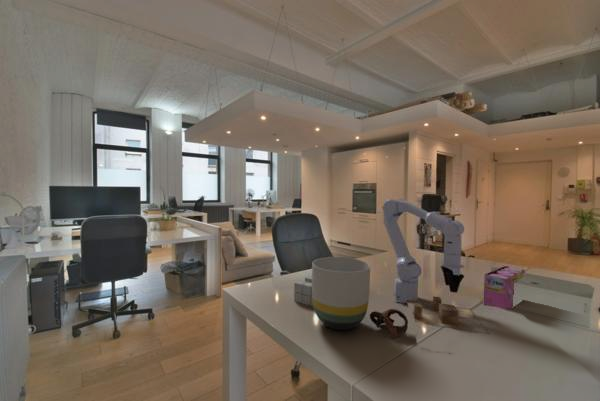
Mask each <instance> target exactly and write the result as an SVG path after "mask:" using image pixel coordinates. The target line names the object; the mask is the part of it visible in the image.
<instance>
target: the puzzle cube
mask: <svg viewBox="0 0 600 401" xmlns="http://www.w3.org/2000/svg"><path fill="white" fill-rule="evenodd" d="M293 284H294V285H293V286H294V288H293V301H294V302H295V303H296V302H297V303H300V304H303V305H307V306H310V307H313V308H314V306H313V299H312V275H308V276H306V277H305V278H304V280H297V281H294V283H293Z"/></svg>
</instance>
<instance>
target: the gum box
mask: <svg viewBox="0 0 600 401" xmlns="http://www.w3.org/2000/svg"><path fill="white" fill-rule="evenodd" d="M501 269H504V270H505V271H501ZM518 272H520V273H518ZM517 273H518V274H517ZM523 273H525V274H526V269H521V270H519V269H517V268H512V267H510V266H501V267H499V268H497V269H495V270H492V271H490V272H486V273H485V274H484V283H483V284H484V285H483V306H487V307H495V308H499V309H501V310H502V309H503V310H507V309H513V308H512V307H513V295H514V283H516V282H518V281H519V280H520V279H521V278H522V277H523Z"/></svg>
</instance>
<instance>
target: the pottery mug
mask: <svg viewBox="0 0 600 401" xmlns="http://www.w3.org/2000/svg"><path fill="white" fill-rule="evenodd" d="M395 314H397V315H398V316H399V317H400V318H402V319H403V321H404V325H397V326H396V327H394V323H395V319H394V318H391V315H395ZM369 318H370V321H371V322H372V323H373V324H374V325H375V326H376V328H378V329H379V328H380V327H381V325H383V324H385V325H386V327H388V329H389V330H390V333H389V334H388V336H389V338H391V339H395V338H396V337H399V336H402V335H404V334H406V333H407V330H408V325H409V321H408V317H407V316H406V315H405V314H404V313H403V312H402V311H400V310H399V309H396V308H389V309H388V310H387V309H386V310H385V311H383V312H379V311H376V310H375V311H374V310H373V311H372V312H370V314H369Z"/></svg>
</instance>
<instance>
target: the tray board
mask: <svg viewBox="0 0 600 401" xmlns="http://www.w3.org/2000/svg"><path fill="white" fill-rule="evenodd" d="M422 304H423V305H431V306H432V305H433V303H426V302H423V303H422ZM455 307H456V308H459V309H467V310H471V312H472V313H473V314H474V316H475V317H476V318H477V319H475V318H467V317H459V316H458V319H465V320H471V321H472V320H473V321H478V322H479V323H480V325H481V326H482V327H483V328H484V330H485V331H480V330H472V329H466V328H458V327H450V326H443V325H436V324H431V326H432V327H439V328H445V329H453V330H459V331H468V332H475V333H480V334H481V333H482V334H487V335H490V334H491V333H490V331H489V330H488V329H487V328H486V327H485V325H484V323H482V321H481V320H480V319H479V318H478V316H477V315H476V314H475V312H474V311H473V310H472V309H471V308H467V307H460V306H455ZM426 314H430V315H438V316H439V314H436V313H435V312H434V313H431V312H426Z"/></svg>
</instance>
